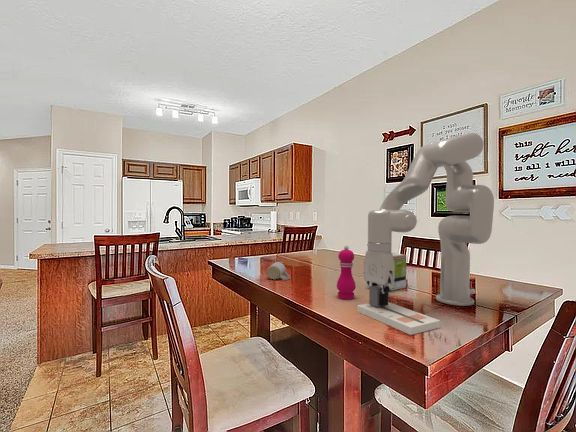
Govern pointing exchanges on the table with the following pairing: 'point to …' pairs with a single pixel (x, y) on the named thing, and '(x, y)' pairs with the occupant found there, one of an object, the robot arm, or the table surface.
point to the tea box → (399, 271)
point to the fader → (375, 295)
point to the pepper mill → (346, 275)
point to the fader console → (400, 318)
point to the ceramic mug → (277, 271)
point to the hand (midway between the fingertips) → (378, 302)
